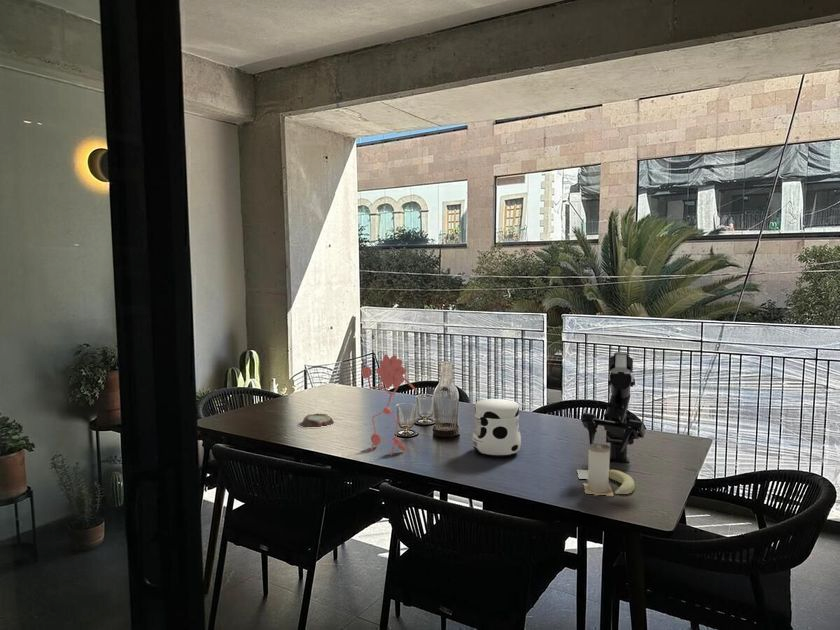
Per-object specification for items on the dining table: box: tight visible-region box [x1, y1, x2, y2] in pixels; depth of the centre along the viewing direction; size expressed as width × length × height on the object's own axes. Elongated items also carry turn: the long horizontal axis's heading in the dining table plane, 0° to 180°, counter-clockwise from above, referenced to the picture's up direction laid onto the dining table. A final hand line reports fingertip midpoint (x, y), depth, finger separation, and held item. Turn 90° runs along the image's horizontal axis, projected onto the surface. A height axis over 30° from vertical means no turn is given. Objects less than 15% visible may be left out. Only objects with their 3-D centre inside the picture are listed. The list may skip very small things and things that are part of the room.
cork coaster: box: [582, 482, 615, 497], centre depth 177 cm, size 8×8×1 cm
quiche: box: [297, 413, 335, 428], centre depth 251 cm, size 21×20×4 cm
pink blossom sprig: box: [361, 354, 419, 459], centre depth 216 cm, size 15×26×35 cm, turn 56°
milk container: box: [472, 398, 522, 458], centre depth 211 cm, size 17×17×18 cm
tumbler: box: [587, 443, 610, 493], centre depth 176 cm, size 6×6×13 cm
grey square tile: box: [576, 469, 588, 480], centre depth 189 cm, size 8×8×1 cm
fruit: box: [609, 469, 635, 495], centre depth 181 cm, size 7×15×3 cm, turn 175°
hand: (605, 448), depth 180 cm, fingers open, 9 cm apart
